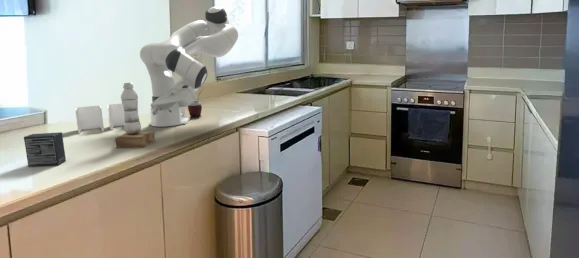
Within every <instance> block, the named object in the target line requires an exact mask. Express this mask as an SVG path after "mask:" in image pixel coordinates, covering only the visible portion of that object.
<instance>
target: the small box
mask: <svg viewBox="0 0 579 258" xmlns="http://www.w3.org/2000/svg"><path fill="white" fill-rule="evenodd" d="M23 140H24V147H25V154H26V159H27V166H28V168H30V167H31V168H32V167H33V168H34V167H47V166H48V167H51V166H59V165H61V164H63V163H64V162H67V158H66V151H65V145H64V137H63V132H59V131H58V132H44V133H32V134H28V135H24V137H23Z"/></svg>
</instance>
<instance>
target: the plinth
mask: <svg viewBox="0 0 579 258" xmlns="http://www.w3.org/2000/svg"><path fill="white" fill-rule="evenodd" d="M114 141H115V148H116V149H122V148H123V149H129V148H130V149H133V148H134V149H137V148H139V149H141V148H146V147H147V146H149V145H150V144H153V143H154V142H156V140H155V131H151V130H150V131H149V130H148V131H142V130H141V131H140V132H139V133H136V134H127V133H126V132H124V133H122V134H120V135H118V136H116V137H114Z"/></svg>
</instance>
